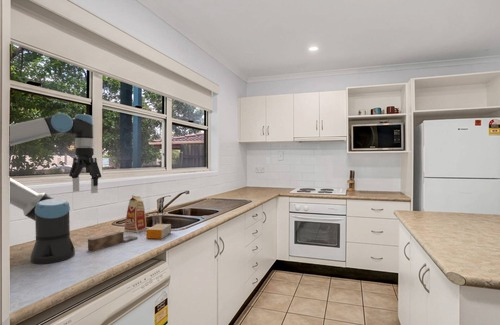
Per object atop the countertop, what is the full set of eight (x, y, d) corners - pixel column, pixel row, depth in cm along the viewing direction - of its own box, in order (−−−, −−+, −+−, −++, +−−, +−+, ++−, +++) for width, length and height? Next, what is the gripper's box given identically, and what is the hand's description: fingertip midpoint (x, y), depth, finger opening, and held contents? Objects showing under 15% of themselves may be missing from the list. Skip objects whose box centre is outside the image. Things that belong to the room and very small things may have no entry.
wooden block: (94, 252, 127) (94, 240, 127) (86, 249, 130) (85, 238, 130) (137, 239, 147) (137, 229, 147) (129, 237, 150) (129, 227, 150)
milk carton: (137, 232, 160) (136, 196, 160) (123, 231, 163) (123, 195, 163) (147, 228, 169) (147, 194, 168) (134, 227, 172) (134, 193, 171)
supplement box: (161, 239, 146) (171, 232, 159) (161, 230, 146) (171, 223, 159) (145, 238, 147) (157, 232, 160) (145, 229, 147) (157, 223, 160)
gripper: (109, 147, 136) (109, 192, 136) (75, 148, 147) (76, 190, 147) (94, 146, 129) (94, 194, 130) (60, 147, 140) (61, 191, 141)
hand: (85, 192), depth 138 cm, fingers open, 13 cm apart
